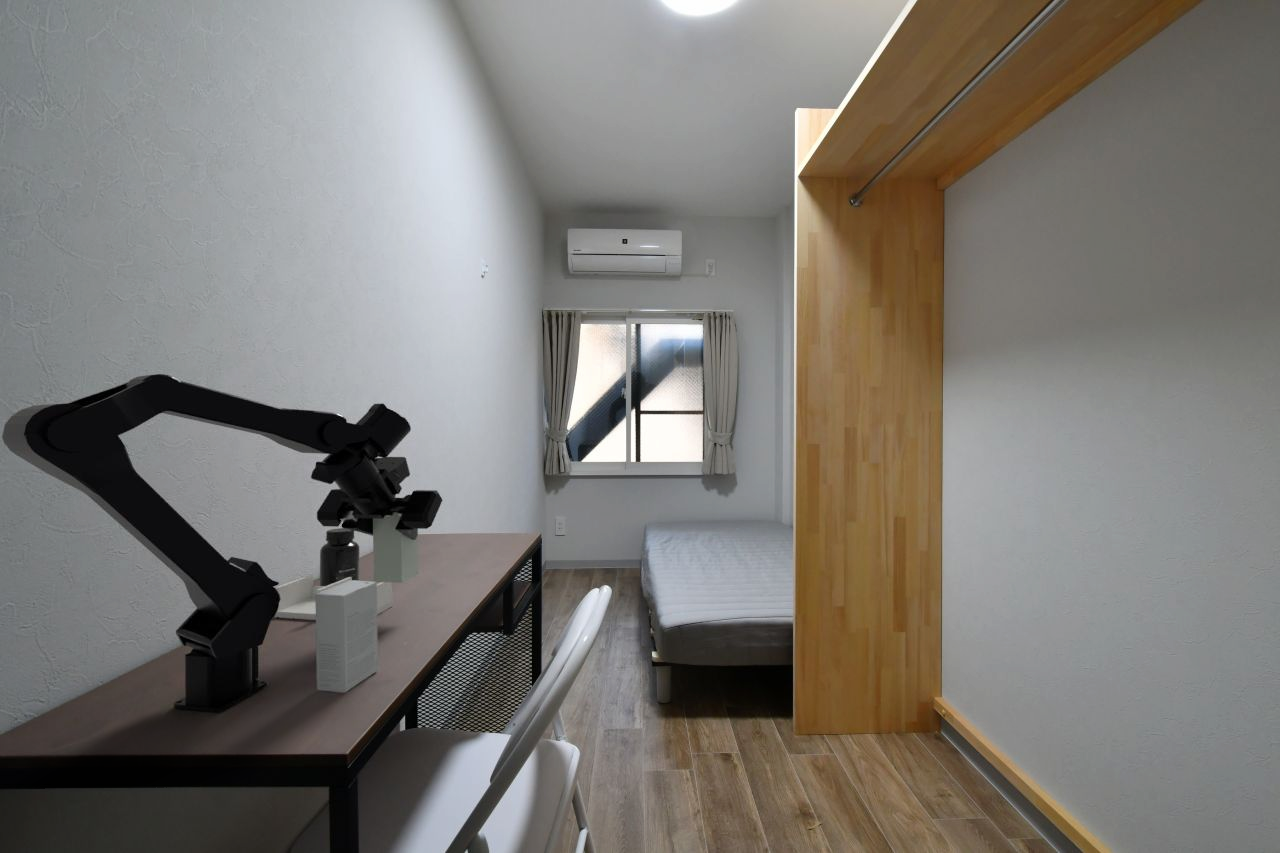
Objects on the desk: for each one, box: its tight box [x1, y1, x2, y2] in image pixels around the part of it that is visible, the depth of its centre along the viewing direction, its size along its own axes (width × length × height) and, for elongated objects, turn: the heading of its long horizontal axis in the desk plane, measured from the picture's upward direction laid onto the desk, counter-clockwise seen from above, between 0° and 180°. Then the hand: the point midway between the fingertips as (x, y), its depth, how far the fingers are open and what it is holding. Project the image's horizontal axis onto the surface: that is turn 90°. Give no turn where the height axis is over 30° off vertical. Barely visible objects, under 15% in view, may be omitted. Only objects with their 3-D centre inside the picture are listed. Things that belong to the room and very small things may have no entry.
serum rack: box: [273, 574, 393, 621], centre depth 92 cm, size 8×17×5 cm, turn 81°
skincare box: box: [315, 580, 379, 694], centre depth 67 cm, size 6×4×12 cm
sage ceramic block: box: [372, 512, 420, 584], centre depth 89 cm, size 5×5×13 cm
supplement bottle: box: [319, 527, 360, 586], centre depth 104 cm, size 7×7×12 cm
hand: (400, 537), depth 90 cm, fingers closed on sage ceramic block, 5 cm apart
